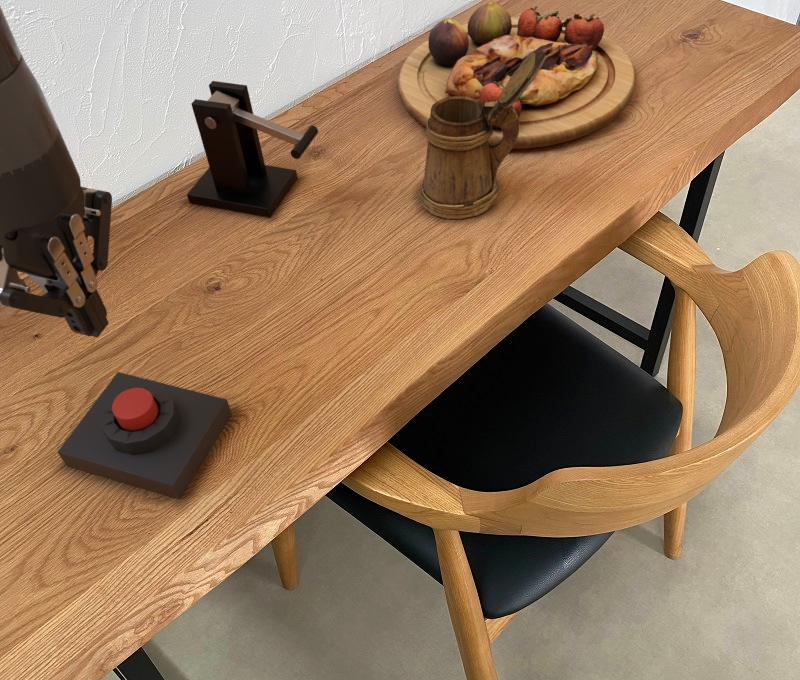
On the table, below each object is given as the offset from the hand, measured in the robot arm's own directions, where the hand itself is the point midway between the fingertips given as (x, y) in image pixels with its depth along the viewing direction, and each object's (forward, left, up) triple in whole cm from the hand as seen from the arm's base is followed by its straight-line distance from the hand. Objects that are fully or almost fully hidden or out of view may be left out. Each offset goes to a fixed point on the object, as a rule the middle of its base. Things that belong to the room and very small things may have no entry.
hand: (93, 329), depth 64 cm
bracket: (-8, +37, -14) cm, 40 cm away
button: (+1, 0, -11) cm, 11 cm away
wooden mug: (+20, +43, -14) cm, 49 cm away
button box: (+1, 0, -14) cm, 14 cm away
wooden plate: (+18, +68, -14) cm, 71 cm away
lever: (-4, +37, -5) cm, 37 cm away
